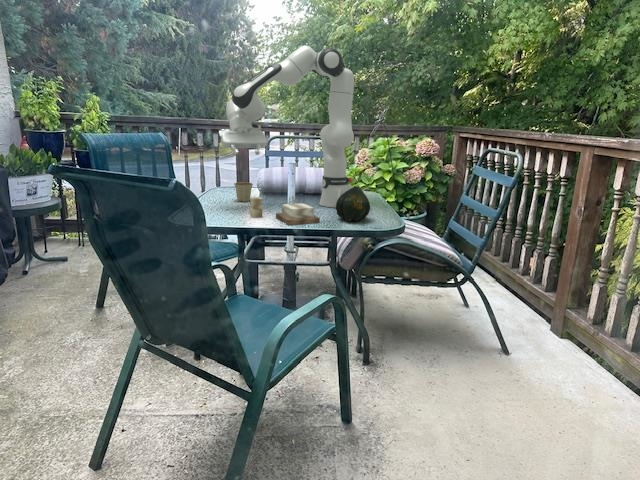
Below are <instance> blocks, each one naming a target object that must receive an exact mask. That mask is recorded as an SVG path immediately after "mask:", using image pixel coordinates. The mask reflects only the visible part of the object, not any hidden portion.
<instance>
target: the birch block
mask: <svg viewBox="0 0 640 480" xmlns="http://www.w3.org/2000/svg"><path fill="white" fill-rule="evenodd" d="M249 202H250V217H251V218H252V219H253V218H254V219H257V217H259V218H263V198H262V197H260V196H257V197H256V196H255V197H250V201H249Z"/></svg>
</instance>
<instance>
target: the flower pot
mask: <svg viewBox="0 0 640 480" xmlns="http://www.w3.org/2000/svg"><path fill="white" fill-rule="evenodd" d="M233 185H234V188H235V192H236V200H237V201H238V202H243V203H246V202H247V203H248V202H250V198H251V193H252V188H253V185H254V183H252V182H248V181H246V182H241V181H240V182H234V183H233Z"/></svg>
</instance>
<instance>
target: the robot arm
mask: <svg viewBox="0 0 640 480" xmlns="http://www.w3.org/2000/svg"><path fill="white" fill-rule="evenodd" d="M311 71H312V72H314V73H315V74H317V75H318V76H321V77H323V78H325V77H328V78H329V82H330V86H329V95H328V96H329V97H328V104H327V112H328V117H329V124H326V125H324V126H323V127H322V129H320V133H319V136H320V140H321V147H322V155H323V175H322V180H321V183H322V184H321V187H322V189H321V196H320V200H319V202H318V203H319V204H318V205H320V206H322V207H326V208H335V209H336V203H337V200H338V198H339V197H340V196H341V195H342V194H343V193H345V192H346V191H348V190H349V189H351V188H353V187H354V186H351V184H350V183H353V181H354V179H353V178H352V177H348V176H347V163H348V161H347V157H346V154H345V148H347V147H349V146H351V145H352V143H353V142H354V139H355V135H354V132H353V125H352V124H353V123H352V109H353V108H352V106H353V100H354V99H353V98H354V91H355V90H354V88H355V79H354V78H355V77H354V74H353V72H352V70H351V69H350V68H346V66H345V63H344V61H343V57H342V55H341V53H340V51H338V50H337V49H335V48H332V47H327V48H324V49H323V50H321V51H319V52H316V51H315V50H314V49H313V48H312V47H311V46H309V45H305V44H304V45H302V46H300V47H298V48H296V49H295V50H294V51H293V52H292V53H290V54H289V55H288V56H287V57H286V58H285V59H284V60H282V61H280V62H278V63H277V62H274V63H271V64H269V65H267V66H266V67H264V68H263V69H262V70H261V71H259V72H257V73H256V74H255V75H254V76H252V77H251V78H249V79H248V80H247V81H244V82H243V83H241V84H239V85H237V86H236V87H235V88H234V89H233V91H232V95H231V98H230V100H229V101H228V102H227V103H226V107H225V112H226V118H227V121H228V123H229V128H228V129H225V128H224V129H223V128H222V129H220V130H219V131H218V136H219V137H220V145H221V147H222V148H223V149H230V150H231V151H232V152H233V153H234V155H235V156H239V154H240V152H239V149H255V151H254V153H255V155H256V156H258V155H260V149H265V148H266V146H267V143H268V141H267V138H266V135H265V133H264V131H262V130H261V129H262V127H261V125H260V124H256V123H254V122H257V121H259V120H261V119H262V118H264V117H265V114H266V111H267V108H266V104H265V103H264V101H262V99H260V97H259V96H258V95H257V92H258V91H259V90H260V89H262V88H263V87H264V86H266V85H268V84H269V83H271V82H274V81H275V82H279V83H280V84H282V85H285V86H294V85H296V84H298V83H299V82H300V81H301V80H302V79H303V78H304V77H306V75H308V73H309V72H311Z"/></svg>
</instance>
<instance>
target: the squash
mask: <svg viewBox="0 0 640 480" xmlns="http://www.w3.org/2000/svg"><path fill="white" fill-rule="evenodd" d="M352 187H353V188H351V189H349V190H348V191H346V192H345V193H343V194H342V195H341V196H340V197H339V198H338V200H337V203H336V208H335V210H336V215H338V217H340V218H342V219H345V221H347V222H349V223H350V222H359V220H364V219H366V218H367V216H368V215H369V213H370V211H371V204H370V201H369V199H368V198H369V197H367V195H366V193H365V192H364V190H362V188H361V187H360V185H358V186H352Z"/></svg>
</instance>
